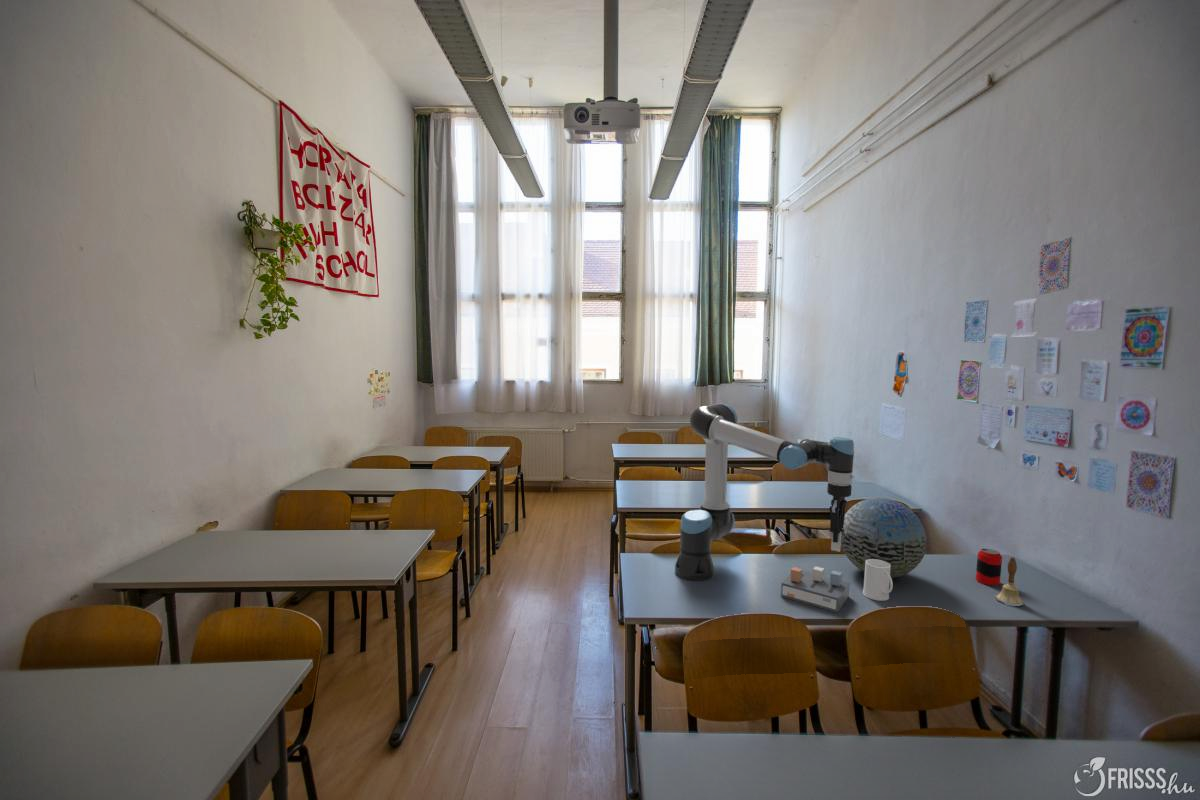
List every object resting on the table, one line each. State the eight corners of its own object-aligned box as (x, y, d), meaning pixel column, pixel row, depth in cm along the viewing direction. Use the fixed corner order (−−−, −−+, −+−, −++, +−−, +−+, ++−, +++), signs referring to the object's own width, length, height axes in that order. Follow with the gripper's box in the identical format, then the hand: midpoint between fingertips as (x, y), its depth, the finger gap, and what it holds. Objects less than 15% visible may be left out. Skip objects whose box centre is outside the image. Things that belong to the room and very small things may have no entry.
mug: (900, 605, 193) (902, 571, 191) (876, 605, 192) (879, 572, 190) (879, 589, 204) (882, 558, 203) (857, 590, 203) (859, 558, 202)
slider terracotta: (790, 580, 199) (790, 569, 198) (793, 577, 201) (793, 566, 201) (798, 582, 197) (799, 571, 196) (801, 579, 199) (802, 569, 199)
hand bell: (1016, 609, 191) (1020, 564, 189) (989, 599, 198) (993, 555, 196) (1029, 604, 195) (1033, 559, 193) (1002, 594, 202) (1006, 551, 200)
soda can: (981, 576, 218) (983, 546, 216) (1003, 583, 211) (1006, 552, 210) (971, 580, 213) (974, 550, 212) (994, 587, 207) (997, 556, 206)
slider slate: (830, 584, 196) (830, 573, 195) (832, 581, 198) (833, 570, 198) (839, 586, 194) (839, 575, 194) (841, 583, 196) (842, 572, 196)
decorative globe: (938, 579, 214) (944, 503, 211) (897, 598, 197) (903, 516, 194) (864, 554, 238) (868, 485, 235) (821, 569, 222) (825, 495, 218)
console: (780, 596, 197) (781, 583, 197) (794, 582, 210) (795, 569, 209) (836, 613, 186) (837, 598, 185) (848, 596, 198) (849, 582, 198)
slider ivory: (812, 579, 199) (813, 568, 199) (814, 577, 202) (815, 566, 201) (821, 582, 198) (821, 571, 197) (823, 579, 200) (824, 568, 200)
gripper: (846, 489, 183) (842, 558, 185) (856, 481, 193) (851, 547, 195) (822, 485, 187) (818, 553, 190) (833, 477, 197) (829, 542, 200)
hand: (835, 550), depth 192 cm, fingers closed
